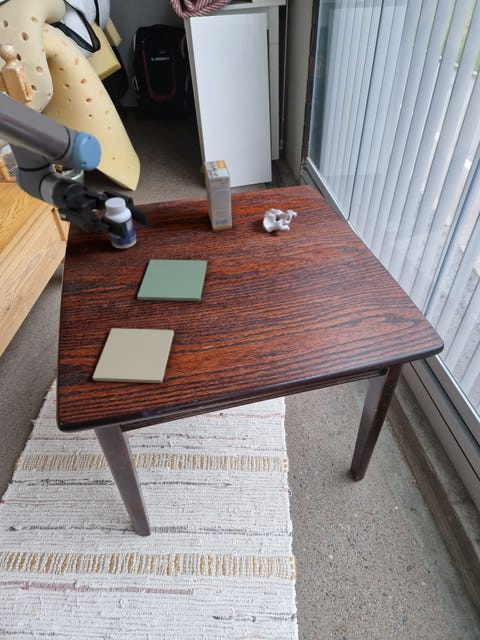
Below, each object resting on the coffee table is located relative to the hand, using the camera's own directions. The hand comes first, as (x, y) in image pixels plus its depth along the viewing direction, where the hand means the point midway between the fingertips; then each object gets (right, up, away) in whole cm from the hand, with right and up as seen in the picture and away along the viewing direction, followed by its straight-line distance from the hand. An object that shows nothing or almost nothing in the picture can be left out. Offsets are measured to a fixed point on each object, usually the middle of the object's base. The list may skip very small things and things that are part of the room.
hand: (135, 225), depth 86 cm
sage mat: (+8, -11, -2) cm, 14 cm away
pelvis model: (+30, +2, +12) cm, 33 cm away
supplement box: (+17, +4, +14) cm, 22 cm away
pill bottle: (-4, -2, +7) cm, 8 cm away
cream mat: (+4, -25, -16) cm, 30 cm away
